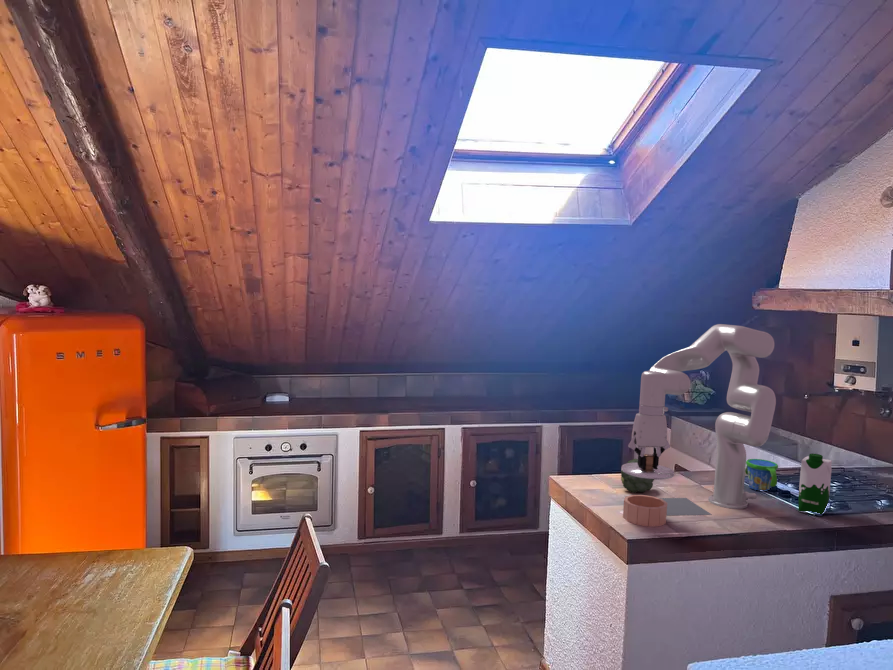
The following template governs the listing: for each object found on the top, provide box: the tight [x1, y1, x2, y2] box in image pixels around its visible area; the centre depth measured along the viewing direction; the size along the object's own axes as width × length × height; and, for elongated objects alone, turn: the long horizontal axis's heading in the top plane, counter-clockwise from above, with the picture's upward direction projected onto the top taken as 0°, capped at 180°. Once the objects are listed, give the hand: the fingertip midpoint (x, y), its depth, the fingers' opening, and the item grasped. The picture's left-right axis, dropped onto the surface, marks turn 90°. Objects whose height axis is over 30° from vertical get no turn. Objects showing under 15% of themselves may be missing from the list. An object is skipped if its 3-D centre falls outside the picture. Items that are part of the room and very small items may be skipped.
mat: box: [659, 497, 712, 517], centre depth 235 cm, size 17×17×1 cm
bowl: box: [622, 494, 668, 527], centre depth 222 cm, size 13×13×6 cm
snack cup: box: [745, 458, 779, 491], centre depth 259 cm, size 16×10×10 cm
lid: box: [620, 453, 675, 480], centre depth 220 cm, size 16×16×5 cm
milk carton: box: [797, 453, 833, 514], centre depth 235 cm, size 9×9×20 cm
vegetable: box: [620, 458, 655, 494], centre depth 253 cm, size 12×13×15 cm
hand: (647, 467), depth 220 cm, fingers closed on lid, 3 cm apart
